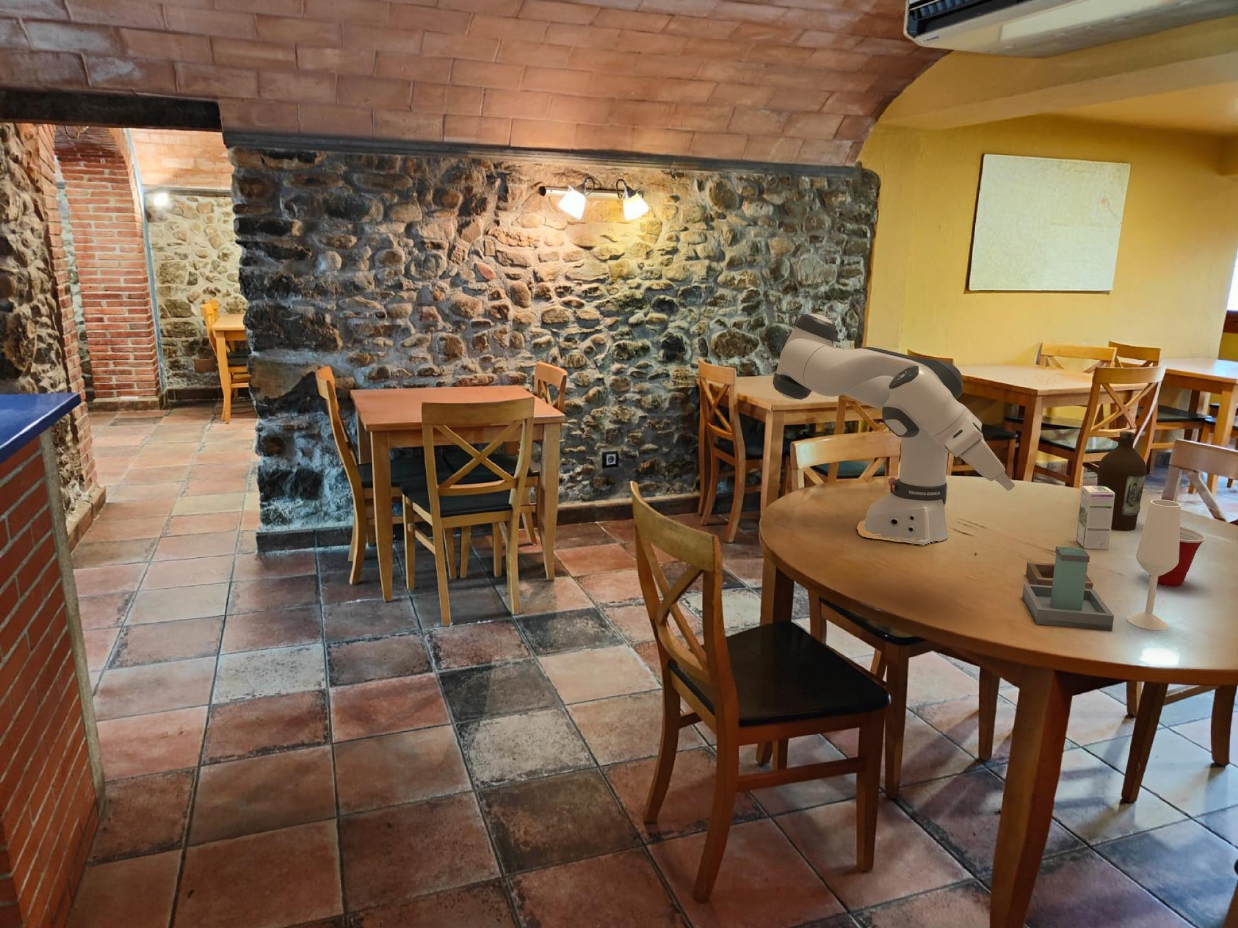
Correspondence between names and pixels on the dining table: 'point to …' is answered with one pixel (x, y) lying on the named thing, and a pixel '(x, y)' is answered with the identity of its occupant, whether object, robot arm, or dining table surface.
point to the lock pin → (1069, 578)
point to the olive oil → (1123, 481)
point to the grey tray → (1089, 617)
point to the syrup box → (1095, 517)
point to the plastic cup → (1183, 557)
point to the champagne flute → (1158, 554)
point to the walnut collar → (1046, 574)
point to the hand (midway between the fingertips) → (1006, 481)
